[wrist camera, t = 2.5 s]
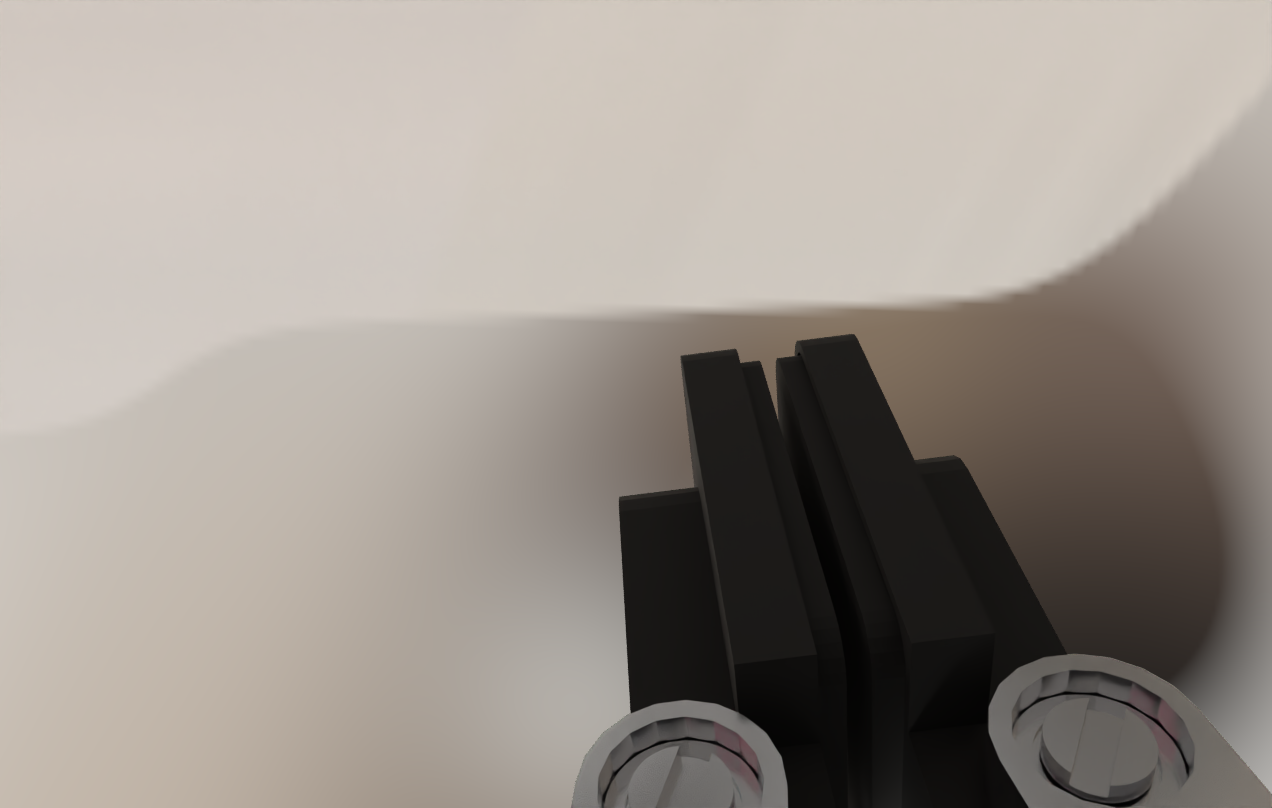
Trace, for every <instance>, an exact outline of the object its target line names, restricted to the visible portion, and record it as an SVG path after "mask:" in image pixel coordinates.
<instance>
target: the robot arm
mask: <svg viewBox="0 0 1272 808" xmlns="http://www.w3.org/2000/svg"><path fill="white" fill-rule="evenodd" d="M681 368H682V377H683V386H684V396H685V404H686V413H687V422H688V431H689V441H690V450H691V459H692V468H693V478H694V487H695V488H687V489H679V490H671V491H663V492H654V493H647V494H638V495H630V496H622V497H619V514H620V515H619V516H620V534H621V551H622V569H623V587H624V603H625V620H626V639H627V657H628V675H629V692H630V710H631V714H628V715H626V716H625V717H624V718H622V719H621V720H620V721H618V722H617V723H616V724H614V725H613V726H611V727H610V728H609V729H607V730H606V731H605V732H603V733H602V734H601V736H600V737H599V738H598V740H597V741H596V742H595V744H594V745H593V746H592V747H591V749H590V750H589V751H588V753H587V754H586V755H585V758H584V760H583V763H582V766H581V768H580V772H579V774H578V777H577V780H576V783H575V789H574V794H573V800H572V806H571V808H1272V794H1271V793H1270V791H1269V790H1268V789H1267V788H1266V787H1265V786H1264V784H1263V783H1262V782H1261V781H1260V780H1259V779H1258V777H1257V776H1256V775H1255V774H1254V773H1253V771H1252V770H1251V769H1250V768H1249V767H1248V766H1247V764H1246V763H1245V762H1244V761H1243V760H1242V759H1241V758H1240V756H1239V755H1238V754H1237V753H1236V752H1235V751H1234V749H1233V748H1232V747H1231V746H1230V744H1229V743H1228V742H1227V741H1226V740H1225V739H1224V737H1222V735H1221V734H1220V733H1219V732H1218V731H1217V729H1216V728H1215V727H1214V726H1213V725H1212V724H1211V722H1209V720H1208V719H1207V718H1206V716H1205V715H1204V714H1203V713H1202V712H1201V711H1200V709H1199V708H1198V707H1196V706H1195V705H1194V704H1193V703H1192V702H1191V701H1190V700H1189V699H1188V698H1187V697H1185V696H1184V695H1183V694H1182V693H1181V692H1180V691H1179V690H1178V689H1177V688H1175V687H1174V686H1173V685H1171V684H1169V683H1168V682H1166V681H1164V680H1162V679H1161V678H1159V677H1157V676H1155V675H1153V674H1152V673H1150V672H1148V671H1147V670H1145V669H1143V668H1140V667H1137V666H1134V665H1131V664H1128V663H1124V662H1121V661H1118V660H1115V659H1112V658H1109V657H1100V656H1091V655H1083V654H1069V655H1067V653H1066V652H1065V649H1064V647H1063V646H1062V644H1061V642H1060V640H1059V638H1058V636H1057V634H1056V633H1055V631H1054V629H1053V627H1052V625H1051V623H1050V622H1049V620H1048V618H1047V616H1046V614H1045V612H1044V610H1043V608H1042V607H1041V605H1040V603H1039V601H1038V599H1037V597H1036V595H1035V594H1034V592H1033V590H1032V588H1031V586H1030V584H1029V583H1028V580H1027V579H1026V577H1025V575H1024V573H1023V571H1022V569H1021V567H1020V566H1019V564H1018V562H1017V560H1016V558H1015V556H1014V554H1013V553H1012V551H1011V549H1010V547H1009V545H1008V543H1007V541H1006V539H1005V538H1004V536H1003V534H1002V532H1001V530H1000V528H999V526H998V524H997V523H996V521H995V519H994V517H993V515H992V513H991V511H990V510H989V508H988V506H987V504H986V502H985V500H984V498H983V497H982V495H981V493H980V491H979V489H978V487H977V485H976V484H975V482H974V480H973V478H972V476H971V474H970V472H969V470H968V469H967V467H966V466H965V464H964V463H963V462H962V460H961V459H960V458H958V457H956V456H954V455H953V456H946V457H937V458H929V459H921V460H914V458H913V456H912V454H911V452H910V450H909V448H908V446H907V444H906V442H905V440H904V437H903V435H902V433H901V431H900V429H899V427H898V424H897V422H896V420H895V418H894V416H893V414H892V412H891V410H890V407H889V405H888V403H887V401H886V399H885V397H884V395H883V392H882V390H881V388H880V386H879V384H878V382H877V380H876V377H875V375H874V373H873V371H872V369H871V367H870V365H869V363H868V360H867V358H866V356H865V354H864V352H863V350H862V348H861V346H860V344H859V341H858V339H857V338H856V336H855V335H854V334H848V335H841V336H832V337H825V338H817V339H810V340H801V341H797V342H796V346H795V356H792V357H784V358H777V360H776V383H777V402H778V419H777V416H776V412H775V408H774V405H773V402H772V399H771V395H770V392H769V388H768V385H767V381H766V378H765V375H764V371H763V368H762V365H761V362H760V361H752V362H745V363H740V360H739V356H738V353H737V350H736V349H730V350H723V351H714V352H707V353H698V354H691V355H683V356H681ZM778 421H779V422H778Z"/></svg>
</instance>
